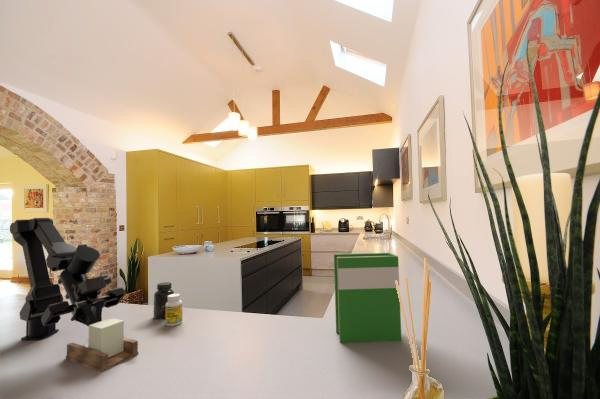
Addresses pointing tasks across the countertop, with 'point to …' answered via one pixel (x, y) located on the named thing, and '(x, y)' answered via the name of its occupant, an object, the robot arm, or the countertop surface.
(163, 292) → the supplement bottle
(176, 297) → the supplement bottle
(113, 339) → the sage block
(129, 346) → the wooden tray holder
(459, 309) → the countertop surface
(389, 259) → the hardback book
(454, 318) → the countertop surface
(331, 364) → the countertop surface
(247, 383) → the countertop surface
